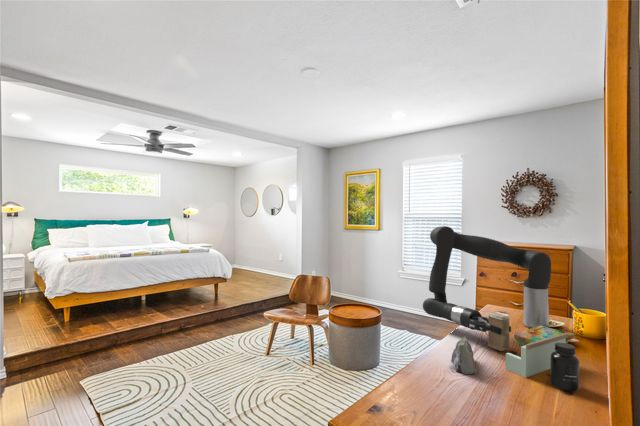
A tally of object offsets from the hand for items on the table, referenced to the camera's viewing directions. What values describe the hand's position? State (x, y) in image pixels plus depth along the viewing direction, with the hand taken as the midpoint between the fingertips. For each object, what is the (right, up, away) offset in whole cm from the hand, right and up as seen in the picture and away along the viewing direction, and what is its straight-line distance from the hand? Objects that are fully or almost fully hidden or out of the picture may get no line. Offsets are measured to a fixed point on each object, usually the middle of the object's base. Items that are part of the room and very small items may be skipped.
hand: (505, 330), depth 121 cm
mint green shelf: (+5, -8, -9) cm, 13 cm away
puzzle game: (+20, -9, +10) cm, 24 cm away
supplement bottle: (+5, -9, -22) cm, 24 cm away
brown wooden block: (-1, -7, +2) cm, 8 cm away
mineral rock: (-18, -9, -10) cm, 22 cm away
